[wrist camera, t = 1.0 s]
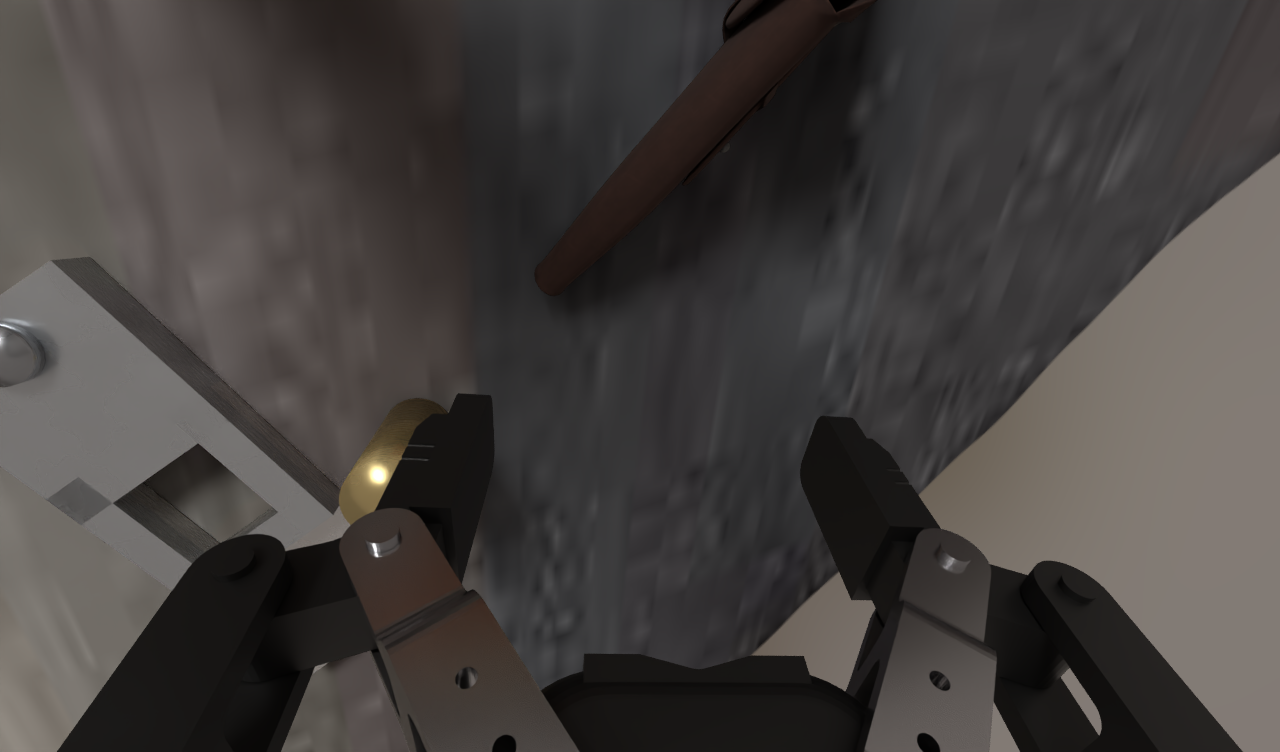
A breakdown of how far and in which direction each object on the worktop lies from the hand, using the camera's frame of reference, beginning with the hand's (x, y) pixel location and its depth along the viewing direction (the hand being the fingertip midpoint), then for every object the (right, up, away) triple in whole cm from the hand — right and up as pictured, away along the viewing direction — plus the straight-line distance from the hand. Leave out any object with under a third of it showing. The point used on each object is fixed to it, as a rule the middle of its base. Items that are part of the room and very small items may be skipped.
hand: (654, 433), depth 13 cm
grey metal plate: (-25, -5, +18) cm, 32 cm away
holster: (+3, +18, +19) cm, 26 cm away
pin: (-14, -2, +20) cm, 25 cm away
